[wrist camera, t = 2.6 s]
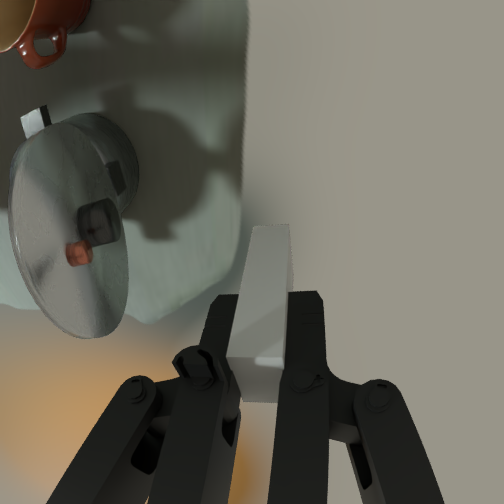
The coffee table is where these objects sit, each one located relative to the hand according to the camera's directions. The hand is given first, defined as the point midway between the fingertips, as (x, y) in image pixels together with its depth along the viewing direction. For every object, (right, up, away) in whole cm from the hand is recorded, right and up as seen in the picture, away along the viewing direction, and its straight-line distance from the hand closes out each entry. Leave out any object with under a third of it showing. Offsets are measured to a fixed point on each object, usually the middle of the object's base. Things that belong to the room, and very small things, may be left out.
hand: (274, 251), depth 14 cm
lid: (-13, +2, +5) cm, 14 cm away
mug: (-21, +26, +8) cm, 34 cm away
